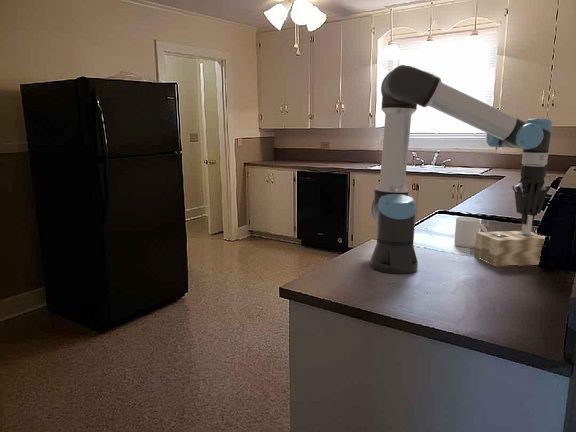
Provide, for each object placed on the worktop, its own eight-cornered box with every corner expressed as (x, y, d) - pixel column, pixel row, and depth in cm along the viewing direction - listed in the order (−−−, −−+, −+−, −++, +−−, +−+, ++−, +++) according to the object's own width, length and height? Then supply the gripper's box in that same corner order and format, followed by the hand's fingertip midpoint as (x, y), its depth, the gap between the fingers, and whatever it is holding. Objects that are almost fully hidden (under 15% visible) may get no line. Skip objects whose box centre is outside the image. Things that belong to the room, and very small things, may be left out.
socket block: (494, 266, 145) (497, 240, 143) (474, 256, 157) (476, 232, 155) (548, 264, 148) (551, 238, 146) (524, 254, 160) (527, 230, 158)
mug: (483, 250, 164) (485, 223, 162) (451, 245, 172) (453, 219, 170) (489, 246, 171) (492, 219, 169) (458, 241, 178) (460, 215, 176)
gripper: (524, 166, 142) (516, 236, 147) (559, 166, 144) (550, 235, 149) (509, 164, 150) (502, 231, 154) (543, 164, 152) (535, 230, 156)
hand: (526, 233), depth 151 cm, fingers closed
